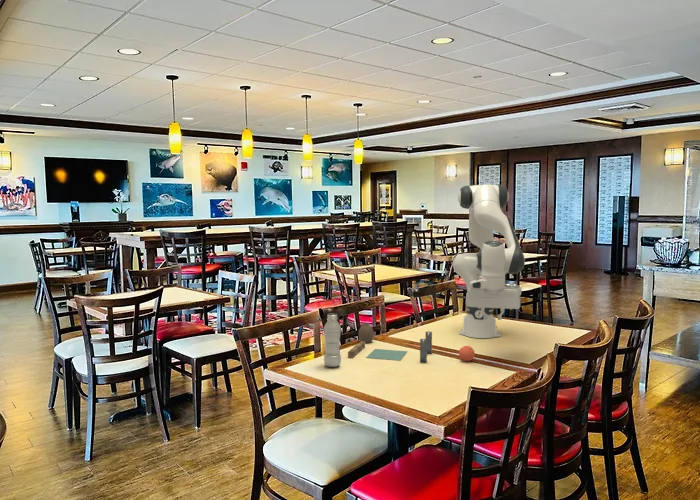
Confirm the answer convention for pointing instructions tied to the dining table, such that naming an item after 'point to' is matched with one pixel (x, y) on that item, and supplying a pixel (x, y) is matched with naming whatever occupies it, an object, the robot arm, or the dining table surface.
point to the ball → (466, 353)
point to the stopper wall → (356, 349)
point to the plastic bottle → (332, 341)
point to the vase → (366, 333)
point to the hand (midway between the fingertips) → (492, 319)
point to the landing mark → (387, 354)
